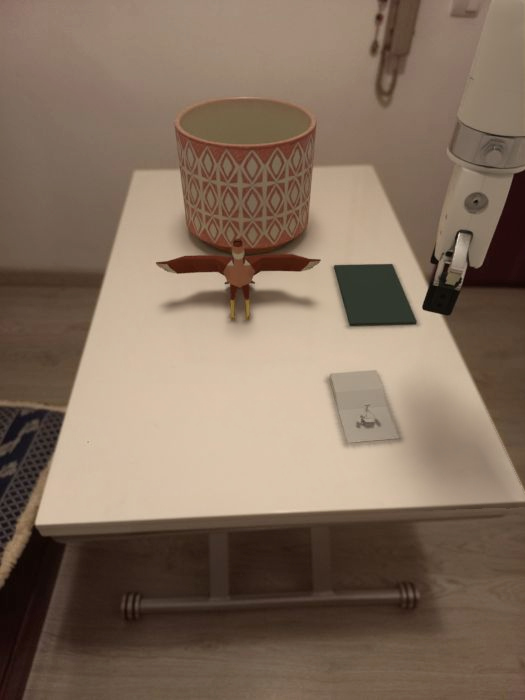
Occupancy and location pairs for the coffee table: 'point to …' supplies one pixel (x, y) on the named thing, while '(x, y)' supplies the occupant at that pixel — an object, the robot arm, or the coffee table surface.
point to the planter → (246, 170)
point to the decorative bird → (238, 267)
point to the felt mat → (373, 295)
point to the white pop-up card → (362, 406)
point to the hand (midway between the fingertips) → (439, 286)
